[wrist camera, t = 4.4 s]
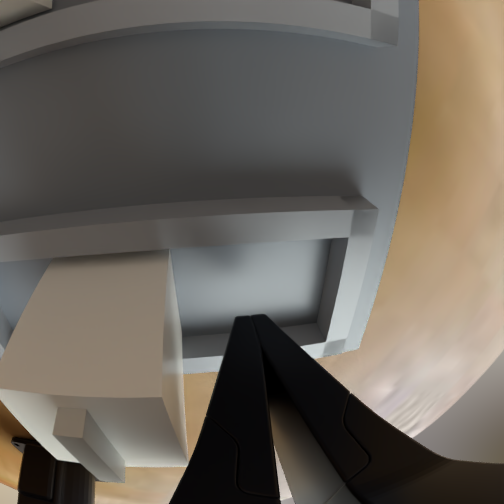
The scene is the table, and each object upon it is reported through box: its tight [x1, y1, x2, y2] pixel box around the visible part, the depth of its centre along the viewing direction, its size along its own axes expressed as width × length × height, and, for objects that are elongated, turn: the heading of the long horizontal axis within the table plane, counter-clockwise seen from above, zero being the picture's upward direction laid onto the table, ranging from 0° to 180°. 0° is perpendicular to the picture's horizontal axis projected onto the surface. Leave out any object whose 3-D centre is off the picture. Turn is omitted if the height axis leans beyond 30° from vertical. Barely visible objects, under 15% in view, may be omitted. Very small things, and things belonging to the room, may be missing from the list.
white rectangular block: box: [0, 249, 189, 483], centre depth 7 cm, size 3×4×5 cm
